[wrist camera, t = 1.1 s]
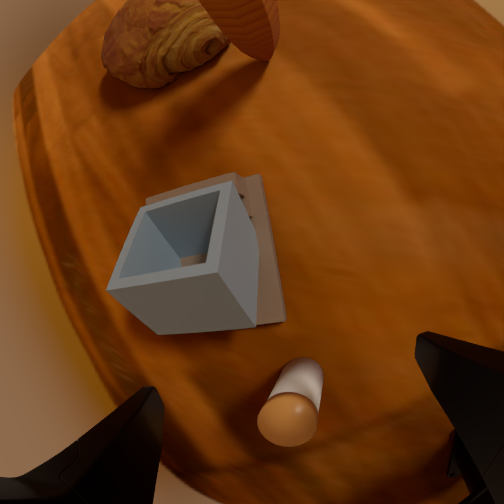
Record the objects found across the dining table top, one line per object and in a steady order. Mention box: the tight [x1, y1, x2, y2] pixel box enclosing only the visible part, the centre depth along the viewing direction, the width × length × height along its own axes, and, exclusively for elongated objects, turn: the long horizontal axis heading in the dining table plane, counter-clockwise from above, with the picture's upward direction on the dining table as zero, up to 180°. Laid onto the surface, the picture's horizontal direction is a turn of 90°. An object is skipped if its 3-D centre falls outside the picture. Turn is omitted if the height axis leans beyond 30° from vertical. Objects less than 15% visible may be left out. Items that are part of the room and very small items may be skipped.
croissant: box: [101, 0, 231, 88], centre depth 22 cm, size 14×16×8 cm
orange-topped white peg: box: [257, 357, 324, 447], centre depth 17 cm, size 3×3×7 cm
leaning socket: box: [106, 172, 287, 335], centre depth 18 cm, size 11×9×9 cm
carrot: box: [198, 0, 279, 61], centre depth 14 cm, size 5×5×15 cm
